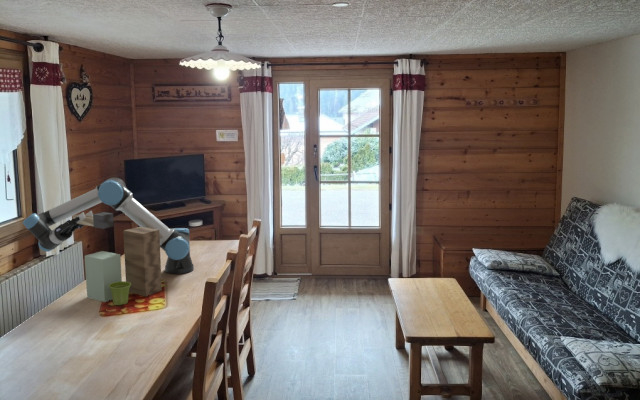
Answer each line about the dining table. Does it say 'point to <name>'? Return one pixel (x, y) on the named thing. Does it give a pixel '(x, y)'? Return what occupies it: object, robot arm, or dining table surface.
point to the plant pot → (120, 292)
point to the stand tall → (142, 260)
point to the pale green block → (102, 274)
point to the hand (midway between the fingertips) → (88, 214)
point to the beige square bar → (98, 220)
